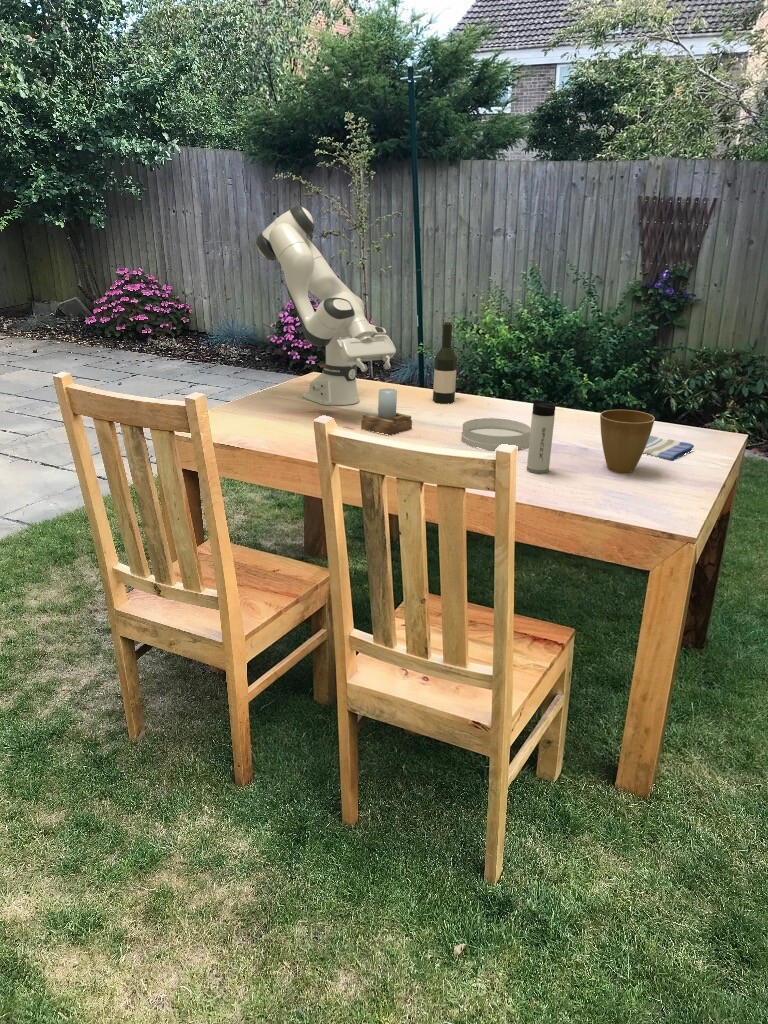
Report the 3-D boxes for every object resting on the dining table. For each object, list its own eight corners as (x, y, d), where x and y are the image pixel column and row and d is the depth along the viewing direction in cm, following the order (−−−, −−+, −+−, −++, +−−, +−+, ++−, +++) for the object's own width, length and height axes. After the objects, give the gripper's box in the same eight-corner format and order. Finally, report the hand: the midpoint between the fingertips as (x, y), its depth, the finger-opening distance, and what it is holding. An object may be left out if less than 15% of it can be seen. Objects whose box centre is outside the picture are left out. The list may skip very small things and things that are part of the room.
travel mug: (532, 465, 229) (539, 398, 222) (552, 470, 225) (560, 402, 218) (521, 470, 224) (528, 401, 217) (542, 475, 221) (549, 405, 213)
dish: (532, 436, 259) (534, 421, 258) (527, 455, 239) (528, 439, 238) (466, 430, 264) (467, 415, 263) (455, 448, 244) (456, 432, 243)
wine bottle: (454, 399, 304) (459, 321, 293) (454, 404, 297) (459, 324, 286) (433, 398, 305) (437, 320, 294) (432, 403, 297) (436, 323, 286)
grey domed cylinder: (374, 420, 260) (374, 390, 257) (385, 417, 265) (386, 387, 261) (388, 423, 257) (389, 393, 253) (399, 420, 261) (400, 390, 258)
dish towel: (627, 436, 263) (628, 428, 262) (695, 452, 248) (697, 443, 247) (601, 446, 251) (602, 437, 250) (671, 463, 236) (672, 454, 235)
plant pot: (606, 458, 237) (613, 406, 232) (654, 468, 229) (662, 415, 223) (584, 469, 227) (591, 415, 221) (634, 481, 218) (642, 425, 212)
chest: (361, 429, 261) (361, 414, 259) (384, 422, 270) (384, 408, 268) (388, 436, 254) (389, 421, 252) (411, 429, 263) (412, 414, 261)
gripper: (338, 331, 256) (354, 366, 252) (388, 328, 267) (405, 361, 264) (331, 343, 261) (346, 377, 257) (380, 339, 272) (396, 372, 268)
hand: (376, 369), depth 260 cm, fingers open, 8 cm apart
